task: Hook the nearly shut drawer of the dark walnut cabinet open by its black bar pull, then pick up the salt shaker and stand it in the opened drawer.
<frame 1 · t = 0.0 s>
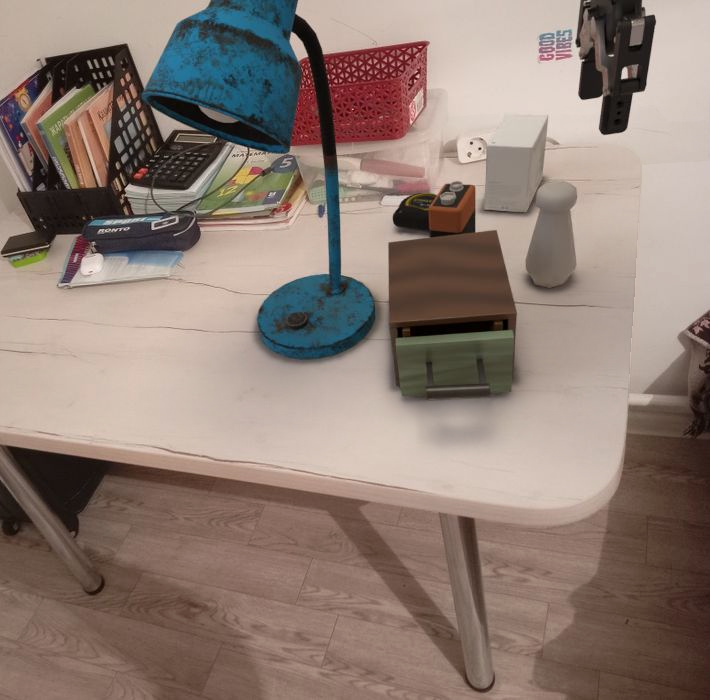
hand: (600, 114, 60), 23 cm above the table, tool pointing down, fingers open, 8 cm apart
cabinet: (448, 337, 76), on the table
tape measure: (422, 227, 95), on the table
drawer: (450, 338, 69), point 5 cm above the table, slide at 1.5 cm
desk lamp: (306, 328, 84), on the table
salt shaker: (548, 279, 79), on the table
cosmetics box: (514, 195, 95), on the table
battery: (453, 253, 88), on the table
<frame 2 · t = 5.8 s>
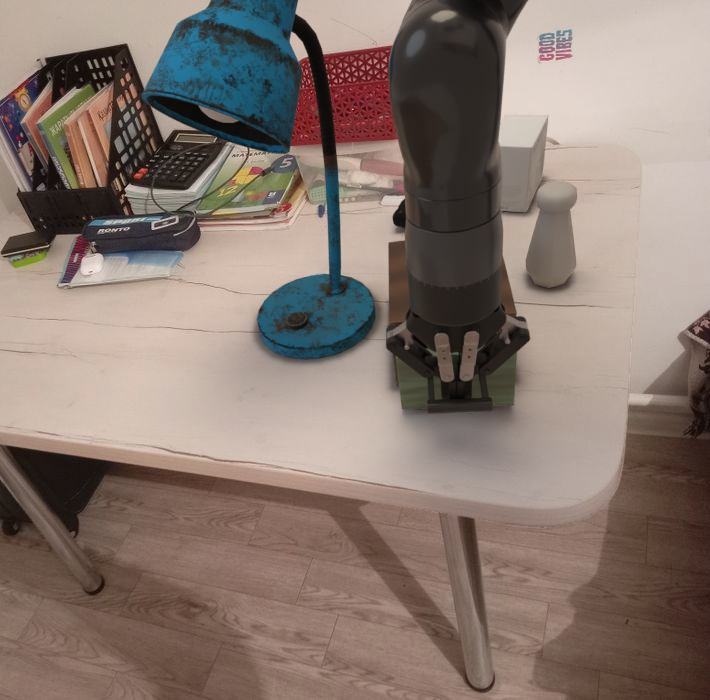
hand: (456, 399, 62), 5 cm above the table, tool pointing down, fingers closed
drawer: (452, 350, 67), point 5 cm above the table, slide at 3.4 cm, touching gripper
everything else where it was.
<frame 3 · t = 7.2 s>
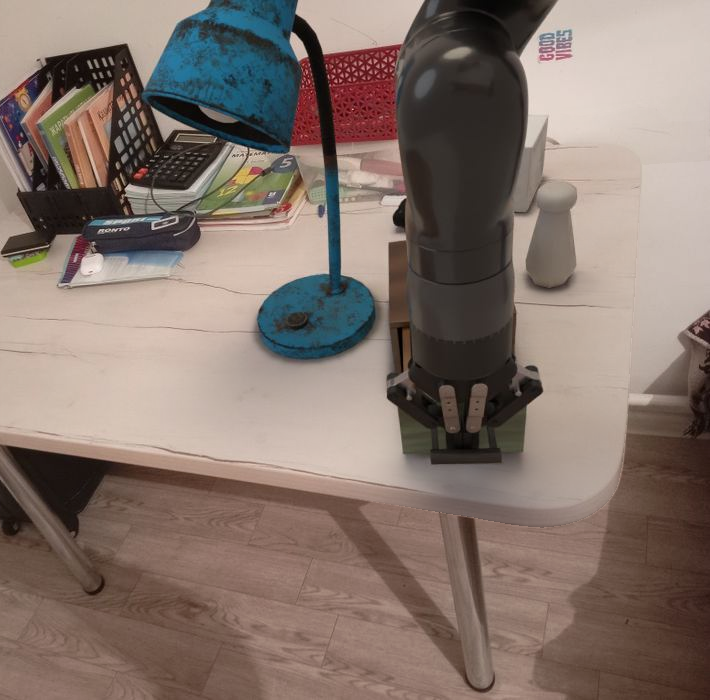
hand: (462, 449, 58), 5 cm above the table, tool pointing down, fingers closed
drawer: (456, 391, 63), point 5 cm above the table, slide at 9.6 cm, touching gripper
everything else where it was.
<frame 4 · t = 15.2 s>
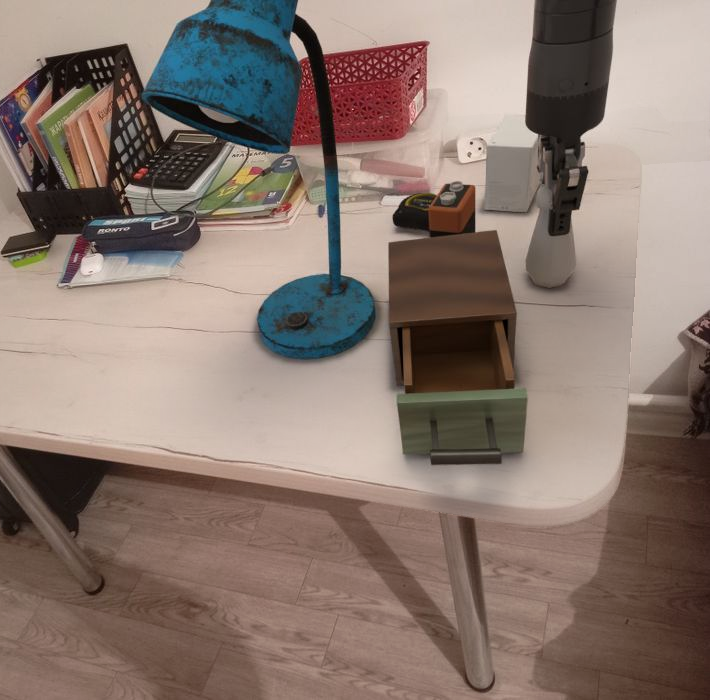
hand: (554, 222, 74), 8 cm above the table, tool pointing down, fingers closed on salt shaker, 4 cm apart
drawer: (456, 391, 63), point 5 cm above the table, slide at 9.6 cm
salt shaker: (548, 279, 79), on the table, touching gripper
everything else where it was.
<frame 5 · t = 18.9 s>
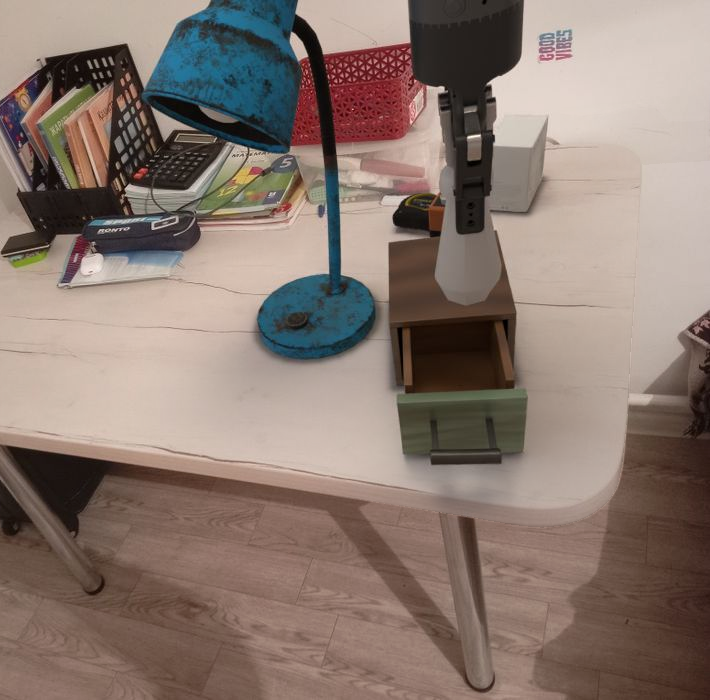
hand: (467, 215, 53), 23 cm above the table, tool pointing down, fingers closed on salt shaker, 4 cm apart
salt shaker: (467, 293, 59), point 15 cm above the table, touching gripper
everything else where it was.
when the fingers open (10 cm above the table, at t = 22.9 s): salt shaker stays where it is, resting on drawer.
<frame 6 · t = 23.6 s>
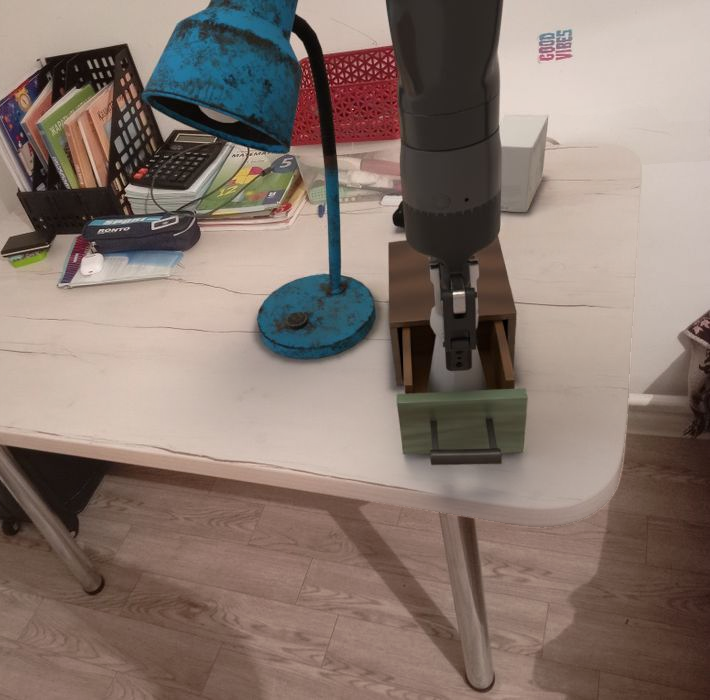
hand: (454, 337, 59), 11 cm above the table, tool pointing down, fingers open, 8 cm apart
drawer: (456, 391, 63), point 5 cm above the table, slide at 9.6 cm, touching salt shaker
salt shaker: (457, 404, 65), point 2 cm above the table, touching drawer
everything else where it was.
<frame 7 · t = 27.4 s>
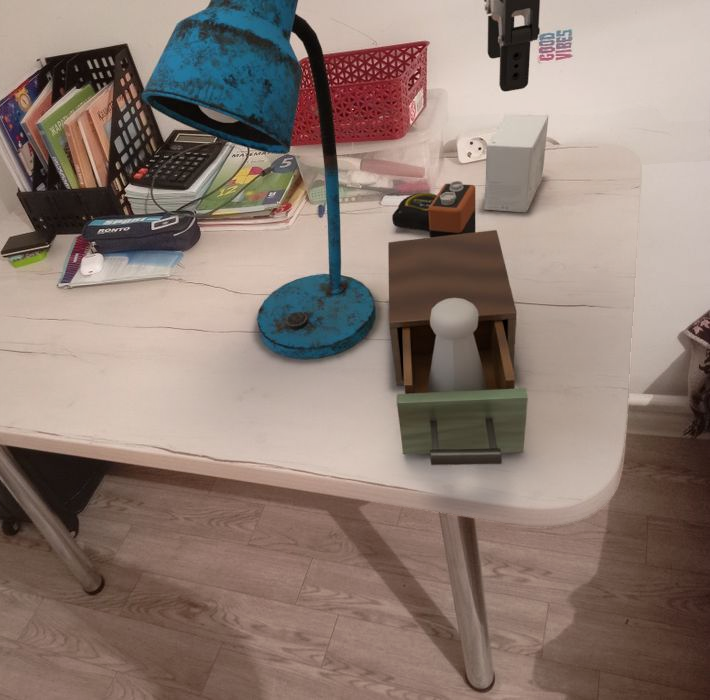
hand: (506, 71, 56), 30 cm above the table, tool pointing down, fingers open, 8 cm apart
nothing on the table moved.
at the end: drawer slide at 9.6 cm; salt shaker inside the target area in the drawer (0.2 cm from its centre), point 1.8 cm above the cabinet's base; salt shaker tilted 0° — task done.
